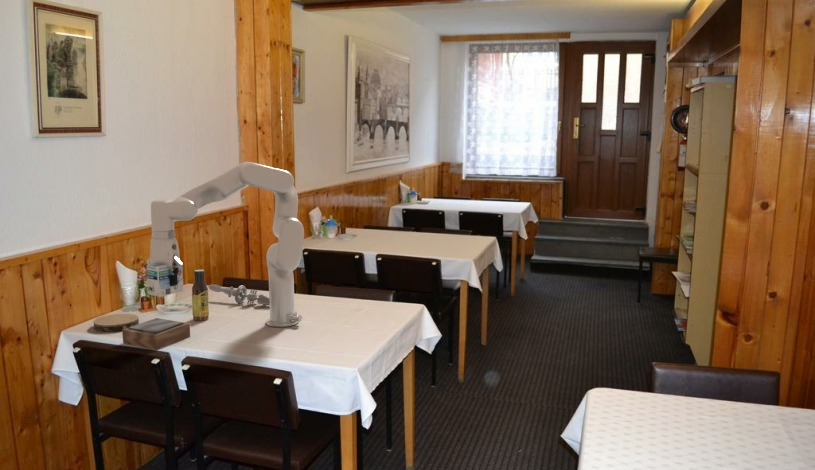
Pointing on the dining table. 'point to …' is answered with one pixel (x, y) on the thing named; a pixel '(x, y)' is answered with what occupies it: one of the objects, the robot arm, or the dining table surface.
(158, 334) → the walnut base
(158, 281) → the light bulb box
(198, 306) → the sauce bottle
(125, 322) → the round wood slice
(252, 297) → the spaceship
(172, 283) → the robot arm
